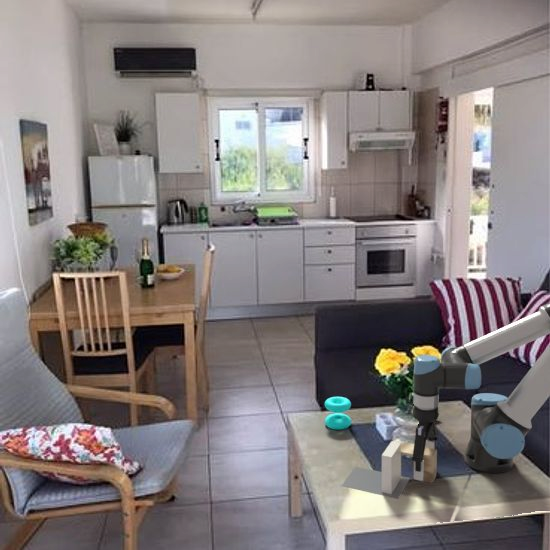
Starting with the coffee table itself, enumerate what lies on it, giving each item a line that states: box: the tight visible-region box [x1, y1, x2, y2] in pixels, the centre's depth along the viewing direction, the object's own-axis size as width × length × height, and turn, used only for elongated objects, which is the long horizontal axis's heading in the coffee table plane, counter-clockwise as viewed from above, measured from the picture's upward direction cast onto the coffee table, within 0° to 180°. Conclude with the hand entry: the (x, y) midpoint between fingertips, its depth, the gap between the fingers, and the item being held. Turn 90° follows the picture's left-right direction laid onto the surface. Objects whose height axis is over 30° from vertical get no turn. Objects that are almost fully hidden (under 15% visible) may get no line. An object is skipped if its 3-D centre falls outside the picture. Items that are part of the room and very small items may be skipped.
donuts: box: [324, 396, 352, 431], centre depth 233 cm, size 10×10×10 cm
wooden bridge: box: [392, 439, 438, 484], centre depth 193 cm, size 14×7×10 cm, turn 62°
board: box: [340, 466, 411, 500], centre depth 190 cm, size 18×13×1 cm
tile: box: [381, 440, 402, 494], centre depth 187 cm, size 3×10×12 cm, turn 152°
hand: (424, 469), depth 191 cm, fingers open, 13 cm apart
